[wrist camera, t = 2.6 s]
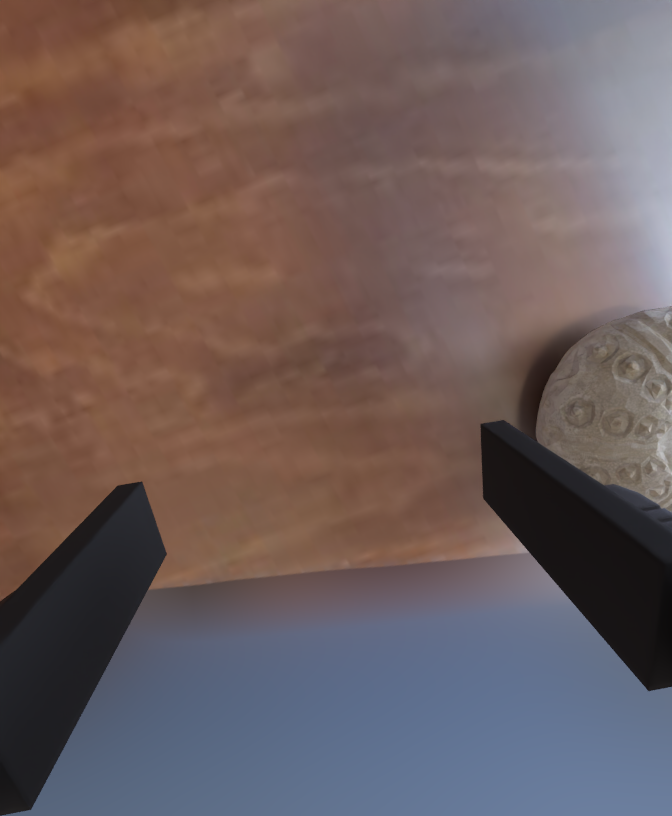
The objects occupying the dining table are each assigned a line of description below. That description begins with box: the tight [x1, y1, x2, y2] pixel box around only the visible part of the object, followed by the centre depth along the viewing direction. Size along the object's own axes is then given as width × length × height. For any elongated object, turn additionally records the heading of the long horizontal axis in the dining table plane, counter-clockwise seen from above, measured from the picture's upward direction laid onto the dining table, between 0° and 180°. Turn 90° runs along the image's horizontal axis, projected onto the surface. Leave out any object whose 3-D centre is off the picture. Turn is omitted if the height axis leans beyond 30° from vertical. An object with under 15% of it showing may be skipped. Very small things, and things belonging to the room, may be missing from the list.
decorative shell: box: [536, 306, 672, 512], centre depth 32 cm, size 18×18×10 cm
